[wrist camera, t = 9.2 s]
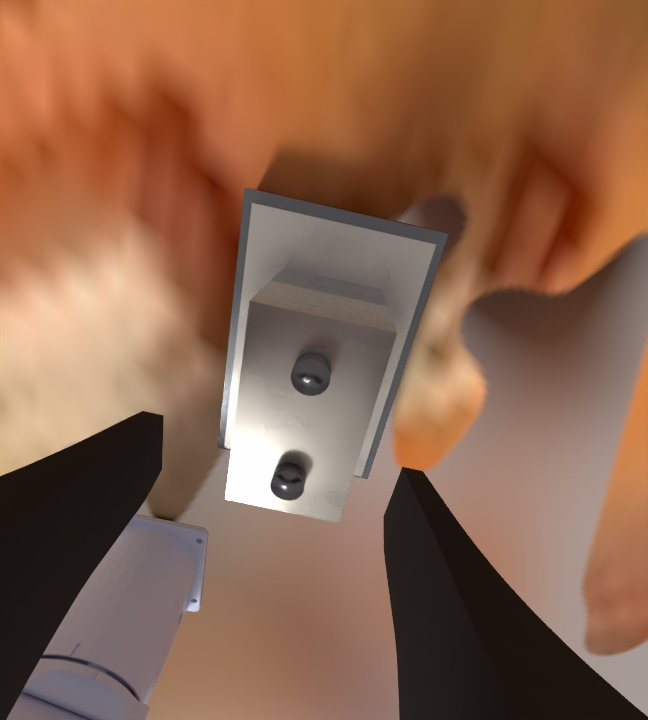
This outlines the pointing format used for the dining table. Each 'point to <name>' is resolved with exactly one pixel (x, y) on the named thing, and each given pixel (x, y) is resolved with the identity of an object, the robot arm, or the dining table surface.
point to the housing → (307, 392)
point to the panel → (339, 261)
